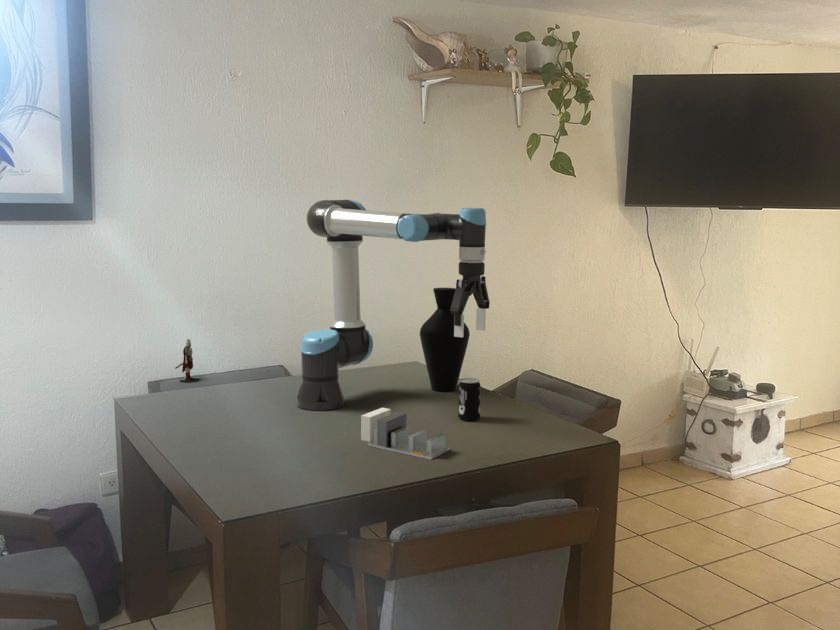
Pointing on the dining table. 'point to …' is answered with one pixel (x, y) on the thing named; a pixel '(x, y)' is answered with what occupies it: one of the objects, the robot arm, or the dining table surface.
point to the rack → (406, 438)
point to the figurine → (187, 363)
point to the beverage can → (469, 399)
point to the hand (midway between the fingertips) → (469, 333)
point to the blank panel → (372, 423)
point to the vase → (443, 344)
